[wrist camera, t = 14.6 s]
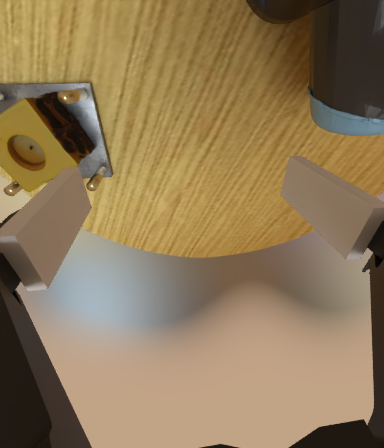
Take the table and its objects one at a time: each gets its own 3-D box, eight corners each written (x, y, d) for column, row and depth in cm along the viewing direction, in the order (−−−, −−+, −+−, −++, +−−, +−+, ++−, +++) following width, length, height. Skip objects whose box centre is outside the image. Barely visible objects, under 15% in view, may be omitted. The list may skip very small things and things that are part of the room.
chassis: (-12, 84, 34) (-63, 86, 26) (91, 82, 36) (72, 84, 28) (32, 178, 43) (4, 200, 35) (113, 174, 45) (102, 194, 37)
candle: (56, 90, 34) (23, 93, 26) (97, 147, 40) (81, 165, 32) (7, 119, 36) (-38, 132, 28) (54, 171, 41) (27, 194, 33)
